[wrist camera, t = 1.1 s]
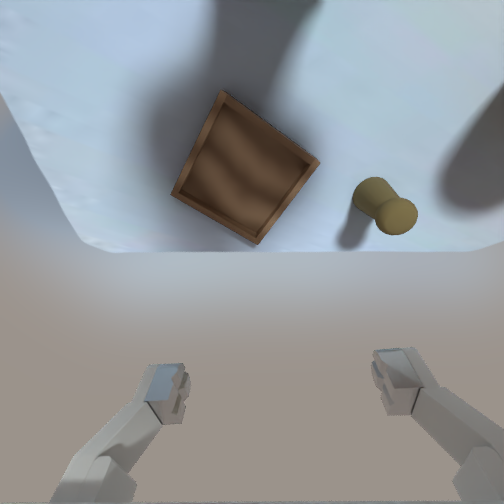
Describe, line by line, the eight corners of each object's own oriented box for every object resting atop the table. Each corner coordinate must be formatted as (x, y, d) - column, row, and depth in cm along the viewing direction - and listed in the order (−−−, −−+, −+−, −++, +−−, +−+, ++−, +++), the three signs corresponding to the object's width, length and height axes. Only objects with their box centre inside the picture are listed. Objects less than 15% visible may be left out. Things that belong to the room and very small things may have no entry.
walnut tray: (223, 90, 35) (220, 89, 33) (316, 158, 40) (320, 162, 37) (175, 189, 43) (170, 194, 41) (258, 237, 48) (257, 245, 45)
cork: (388, 207, 44) (423, 237, 34) (352, 214, 45) (376, 245, 35) (391, 173, 41) (429, 196, 31) (352, 180, 42) (378, 205, 32)
